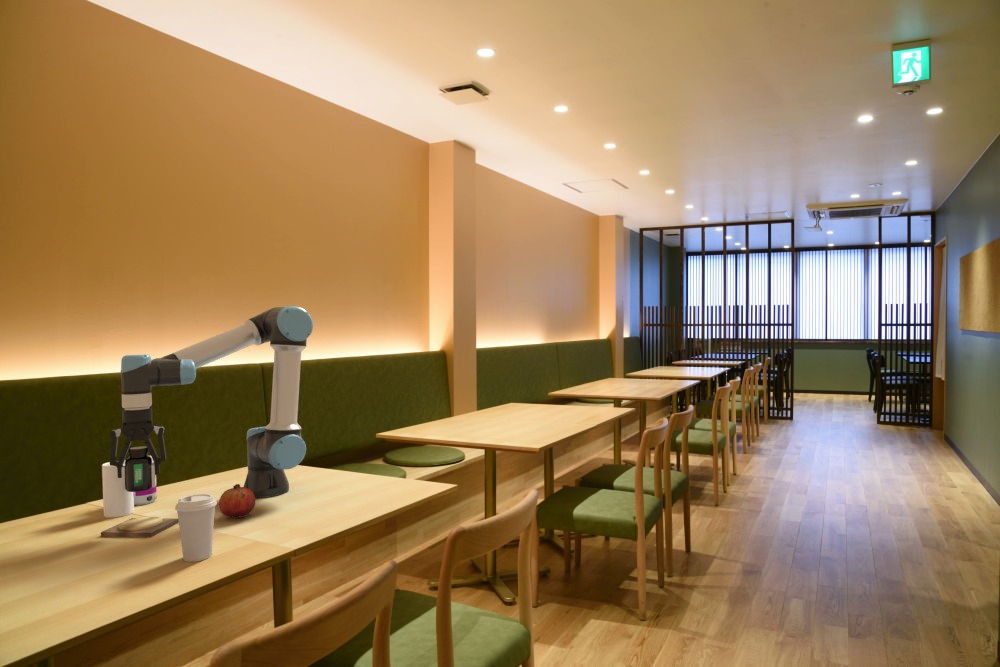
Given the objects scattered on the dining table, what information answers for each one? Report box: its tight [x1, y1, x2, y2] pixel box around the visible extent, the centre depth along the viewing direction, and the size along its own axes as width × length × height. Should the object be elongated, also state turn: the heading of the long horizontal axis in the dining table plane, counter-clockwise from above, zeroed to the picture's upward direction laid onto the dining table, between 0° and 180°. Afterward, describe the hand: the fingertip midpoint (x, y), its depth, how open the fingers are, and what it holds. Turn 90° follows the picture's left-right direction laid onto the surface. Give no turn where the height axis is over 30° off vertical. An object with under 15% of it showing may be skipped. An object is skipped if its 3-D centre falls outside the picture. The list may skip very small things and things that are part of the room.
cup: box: [101, 459, 135, 518], centre depth 202 cm, size 8×8×16 cm
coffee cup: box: [174, 493, 218, 563], centre depth 162 cm, size 10×10×15 cm
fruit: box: [218, 483, 256, 519], centre depth 195 cm, size 11×10×10 cm
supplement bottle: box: [125, 445, 152, 492], centre depth 185 cm, size 7×7×12 cm
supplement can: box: [133, 455, 158, 506], centre depth 215 cm, size 8×8×15 cm
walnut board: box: [100, 516, 179, 538], centre depth 186 cm, size 15×13×2 cm
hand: (139, 487), depth 185 cm, fingers closed on supplement bottle, 7 cm apart
